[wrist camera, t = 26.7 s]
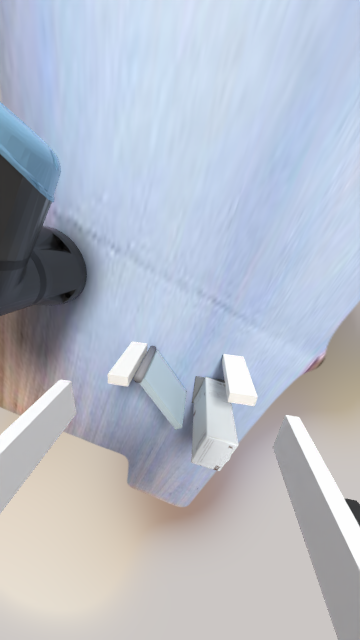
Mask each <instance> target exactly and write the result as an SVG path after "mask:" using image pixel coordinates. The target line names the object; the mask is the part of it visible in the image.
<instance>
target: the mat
mask: <svg viewBox="0 0 360 640" xmlns="http://www.w3.org/2000/svg"><path fill="white" fill-rule="evenodd" d="M214 380H217V381H219V382H222V383H225V381H224V380H218V379H214ZM203 381H204V377H197V376H196V378H195V385H194V392H193V399H192V403H194V399H195V397H196V396H197V394H198V392H199V390H200V388H201V386H202V384H203Z"/></svg>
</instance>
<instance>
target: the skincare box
mask: <svg viewBox="0 0 360 640" xmlns="http://www.w3.org/2000/svg"><path fill="white" fill-rule="evenodd" d="M237 447H238V440H237V434H236V428H235V423H234V417H233V411H232V406H231V402H228V400H227V393H226V386H225V383H222V382H219V381H217V380H214V379H211V378H208V377H205V378H204V381H203V384H202V386H201V388H200V390H199V392H198V394H197V396H196V397H195V399H194V411H193V435H192V459H191V462H192V463H194V464H197V465H200V466H204V467H207V468H210V469H214V470H217V471H220V470H221V469H222V467H223V465H224V464H225V463H226V462H228V461H229V459H230V456H231V454H232V453H233V452H234V450H235V449H236V448H237Z"/></svg>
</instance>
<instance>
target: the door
mask: <svg viewBox="0 0 360 640" xmlns="http://www.w3.org/2000/svg"><path fill="white" fill-rule="evenodd" d="M134 381H135V382H137V383H140V385H141V386H142V387H143V389H144V390H145V391H146V393H147V394H148V395H149V396H150V398H151V399H152V400H153V402H154V403H155V404H156V405H157V407H158V408H159V409H160V411H161V412H162V413H163V414H164V416H165V417H166V418H167V420H168V421H169V422H170V423H171V425H172V426H173V427H174V429H175V430H176V429H179V428H182V425H183V417H184V409H185V401H186V392H187V391H186V390H185V389H184V387H183V386H182V384H181V383H180V381H179V380H178V379H177V377H176V376H175V374H174V373H173V371H172V370H171V369H170V367H169V366H168V364H167V363H166V361H165V360H164V359H163V357H162V356H161V354H160V353H159V351H158V350H157V351H156V347H155V346H151V347H150V348H149V350H148V352H147V354H146V355H145V357H144V359H143V361H142V363H141V365H140V367H139V368H138V370H137V372H136V374H135V376H134Z"/></svg>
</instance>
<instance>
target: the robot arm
mask: <svg viewBox="0 0 360 640" xmlns="http://www.w3.org/2000/svg"><path fill="white" fill-rule="evenodd" d="M60 172H61V168H60V163H59V160H58V158H57V156H56V154H55V153H54V151H53V150H52V149H51V148H50V147H49V146H48V145H47V144H46V143H45V142H44V141H43V140H42V139H41V138H40V137H39V136H38V135H37V134H36V133H35V132H33V131H32V130H31V129H30V128H29V127H28V126H27V125H26V124H25V123H24V122H22V121H21V120H20V119H19V118H18V117H17V116H16V115H15V114H13V113H12V112H11V111H10V110H9V109H8V108H7V107H6V106H4V105H3V104H2V103H1V102H0V316H2V315H5V314H8V313H11V312H13V311H16V310H19V309H22V308H25V307H28V306H30V305H59V304H63V303H66V302H68V301H71V300H73V299H75V298H76V297H77V296H78V295H79V294H80V293H81V292H82V290H83V288H84V286H85V282H86V267H85V262H84V259H83V257H82V255H81V253H80V251H79V249H78V248H77V246H76V245H75V244H74V243H73V241H72V240H71V239H70V238H68V237H67V236H66V235H65V234H63V233H62V232H60V231H58V230H56V229H53V228H50V227H44V226H42V225H43V223H44V220H45V218H46V215H47V213H48V210H49V208H50V205H51V203H52V202H54V193H55V189H56V186H57V183H58V180H59V176H60ZM75 415H76V409H75V402H74V396H73V389H72V383H71V381H66V380H59V381H58V382H57V383H56V384H55V385H53V386H52V387H51V388H50V389H49V390H48V391H47V392H46V393H45V394H44V395H43V396H42V397H41V398H39V399H38V400H37V401H36V402H35V403H34V404H33V405H32V406H31V407H30V408H29V409H28V410H27V411H25V412H24V413H23V414H22V415H21V416H20V417H19V418H18V419H17V420H16V421H15V422H14V423H13V424H11V425H10V427H8V428H7V429H6V430H5V431H4V432H3V433H2V434H1V435H0V513H1V512H2V511H3V509H4V508H5V507H6V505H7V504H8V503H9V501H10V500H11V499H12V498H13V496H14V495H15V494H16V492H17V491H18V490H19V488H20V487H21V486H22V484H23V483H24V482H25V480H26V479H27V478H28V476H29V475H30V474H31V473H32V471H33V470H34V469H35V467H36V466H37V465H38V463H39V462H40V461H41V459H42V458H43V457H44V455H45V454H46V453H47V452H48V450H49V449H50V447H51V446H52V445H53V444H54V442H55V441H56V440H57V438H58V437H59V436H60V434H61V433H62V432H63V431H64V429H65V428H66V427H67V425H68V424H69V423H70V421H71V420H72V419H73V417H74V416H75ZM273 449H274V452H275V454H276V458H277V461H278V464H279V467H280V470H281V473H282V476H283V479H284V482H285V485H286V488H287V491H288V493H289V496H290V499H291V502H292V505H293V508H294V511H295V514H296V517H297V520H298V523H299V526H300V529H301V532H302V535H303V538H304V541H305V543H306V546H307V549H308V552H309V555H310V558H311V561H312V564H313V567H314V570H315V573H316V576H317V579H318V582H319V585H320V587H321V591H322V594H323V597H324V600H325V602H326V605H327V608H328V611H329V614H330V617H331V620H332V623H333V626H334V629H335V632H336V635H337V637H338V640H360V504H359V503H358V502H357V501H355V500H350V499H345V498H344V497H343V496H342V494H341V492H340V490H339V488H338V487H337V485H336V483H335V481H334V479H333V478H332V476H331V474H330V472H329V470H328V468H327V467H326V465H325V463H324V461H323V459H322V458H321V456H320V454H319V452H318V450H317V449H316V447H315V445H314V443H313V441H312V439H311V438H310V436H309V434H308V432H307V430H306V429H305V427H304V425H303V423H302V421H301V419H300V418H299V417H296V416H289V415H285V417H284V420H283V422H282V425H281V427H280V430H279V433H278V435H277V438H276V440H275V443H274V446H273Z"/></svg>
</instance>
